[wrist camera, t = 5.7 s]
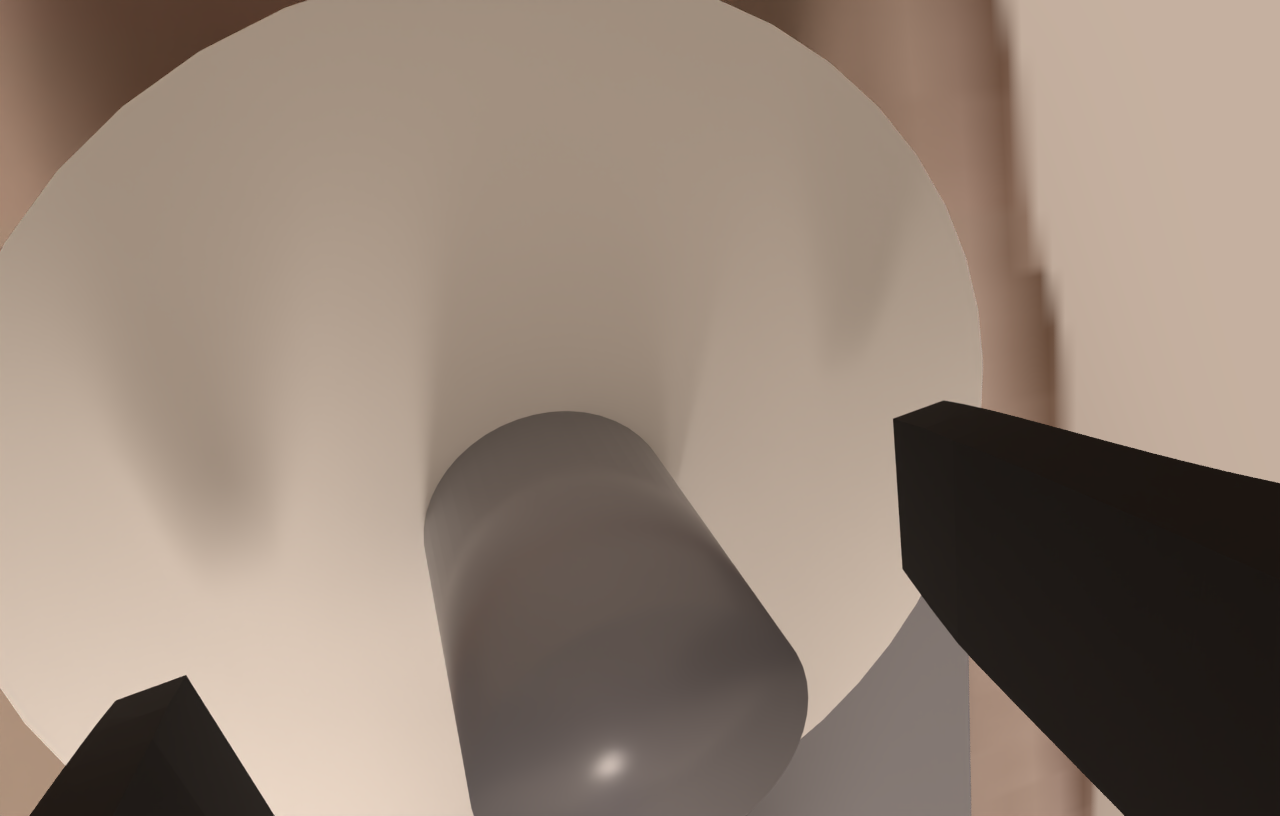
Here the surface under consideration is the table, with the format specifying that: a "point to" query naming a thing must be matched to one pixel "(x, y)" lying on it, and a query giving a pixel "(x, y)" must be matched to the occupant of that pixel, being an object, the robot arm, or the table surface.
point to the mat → (889, 737)
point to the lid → (475, 404)
